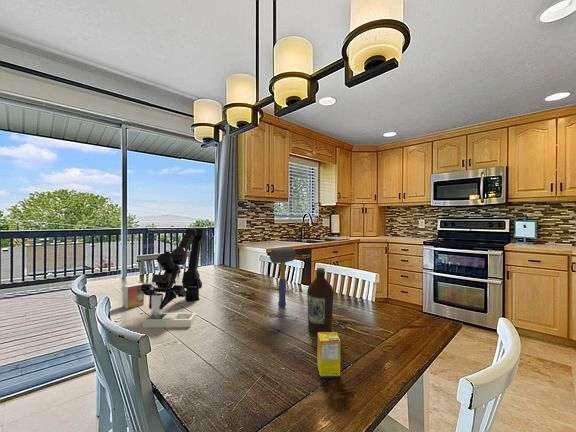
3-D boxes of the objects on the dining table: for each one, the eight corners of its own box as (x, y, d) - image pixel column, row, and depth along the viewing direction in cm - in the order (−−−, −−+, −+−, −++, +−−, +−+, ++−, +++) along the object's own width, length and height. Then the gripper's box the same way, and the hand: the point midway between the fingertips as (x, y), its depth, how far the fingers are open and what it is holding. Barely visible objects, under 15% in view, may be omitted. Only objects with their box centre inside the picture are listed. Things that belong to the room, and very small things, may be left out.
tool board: (142, 327, 111) (142, 320, 111) (151, 319, 119) (151, 312, 119) (190, 327, 112) (190, 319, 112) (196, 319, 120) (196, 312, 120)
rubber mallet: (277, 312, 130) (277, 249, 130) (267, 308, 135) (268, 247, 135) (296, 307, 138) (297, 247, 138) (286, 303, 144) (287, 246, 143)
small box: (127, 309, 132) (127, 287, 132) (122, 306, 135) (122, 285, 135) (144, 304, 138) (144, 284, 138) (139, 302, 141) (139, 282, 141)
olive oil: (313, 322, 118) (314, 265, 118) (336, 328, 113) (337, 267, 113) (302, 331, 109) (303, 269, 109) (327, 338, 104) (328, 272, 103)
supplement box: (336, 367, 84) (336, 331, 84) (340, 378, 78) (341, 340, 78) (316, 367, 84) (317, 331, 84) (319, 379, 78) (320, 340, 78)
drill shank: (162, 320, 118) (163, 292, 118) (162, 324, 114) (162, 295, 114) (151, 322, 116) (151, 294, 116) (150, 326, 112) (151, 296, 112)
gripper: (142, 265, 120) (124, 298, 109) (183, 266, 118) (169, 300, 107) (153, 279, 128) (137, 311, 117) (191, 280, 126) (179, 313, 115)
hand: (155, 308), depth 114 cm, fingers closed on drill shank, 4 cm apart
